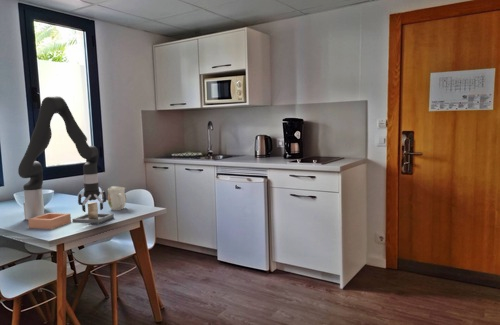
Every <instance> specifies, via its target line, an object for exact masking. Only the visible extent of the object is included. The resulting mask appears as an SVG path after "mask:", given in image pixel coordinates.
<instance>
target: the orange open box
mask: <svg viewBox="0 0 500 325" xmlns="http://www.w3.org/2000/svg"><path fill="white" fill-rule="evenodd" d="M71 218H72V217H71V213H65V212H64V213H63V212H61V213H60V212H58V213H57V212H46V213H44V214H43V215H40V216H37V217H34V218H31V219H28V220H27V221H28V228H29V229H47V230H53V229H55V228H58V227H61V226H64V225H66V224H69V223H71V222H72V220H71Z"/></svg>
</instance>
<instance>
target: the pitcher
mask: <svg viewBox="0 0 500 325" xmlns="http://www.w3.org/2000/svg"><path fill="white" fill-rule="evenodd" d="M107 192H108V195H107V203H108V206H109V208H110V210H112V211H121V209H122V210H124V207H125V205H126V202H127V196H126V195H127V194H126V187H123V186H117V185H112V186H110V187H108V188H107Z"/></svg>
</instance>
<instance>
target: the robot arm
mask: <svg viewBox="0 0 500 325" xmlns="http://www.w3.org/2000/svg"><path fill="white" fill-rule="evenodd" d="M39 108H40V109H39V113H38V115H37V116H38V117H37V119H36V123H35V125H34V129H33V131H32V135H31V137H30V140H29V143H28V145H27V149H26V150H25V153H24V156H23V157H22V159H21V161H20V163H19V165H18V167H17V168H18V169H17V170H18V172H17V173H18V175H19V177H20V178H21V179H29V181H28V182H27V183H25V184H24V185H23V197H24V202H23V215H24V220H27V221H28V219H31V218H34V217H37V216H40V215H43V214H45V206H44V197H43V183H44V176H43V175H44V174H43V171H44V170H43V165H42V164H41V162H39V161H37V158H39V156H40V155H41V154H42V153H43V152H45V151H46V149H47V148H48V146H49V144H50V142H51V140H52V132H53V131H52V128H51V122H52V119H53V117H54V115H55V114H58V115H59V116H60V117H61V119H62V120H63V122H64V126H65V131H66V132H67V133H66V134H67V135H68V137H69V138H70V140H71V141H72V142H73V144H74V145H75V148H76V150H77V153H78V155H79V156H80V157H81V158H82V159H84V160H85V163H84V164H83V165H82V166H83V168H82V169H83V170H82V172H83V181H82V182H83V191H84V192H83V193H78V194H77V204H78V205H79V206H81V208H82V209H81V210H82V212H83V213H86V212H87V211H86V204H87V202H88V201H96V200H97V201H98V202H99V210H100V211H102V210H103V209H104V203H106V202H107V194H106V191H105V190H102V191H100V186H99V185H100V184H99V183H100V182H99V175H98V164H99V163H98V162H99V150H98V147H96V146H95V145H89V144H88V138H87V136H86V135H85V133H84V131H83V130H82V129H81V128H80V126H79V124H78V123H77V120H75V118H74V116H73V113H72V111H71V109H70V108H69V106H68V104H67V102H66V100H65V99H64V98H63V97H61V96H57V95H55V96H54V95H53V96H51V95H50V96H46V97H43V99H42V101H41V104H40V107H39ZM100 195H101V196H102V199H101V198H100ZM83 197H85V198H84V199H83V201H82V198H83Z"/></svg>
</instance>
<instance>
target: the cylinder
mask: <svg viewBox="0 0 500 325" xmlns="http://www.w3.org/2000/svg"><path fill="white" fill-rule="evenodd" d="M98 209H99V207H98V202H96V201H93V202H88V203H87V214H88V219H96V220H97V219H98V213H99V211H98Z"/></svg>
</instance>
